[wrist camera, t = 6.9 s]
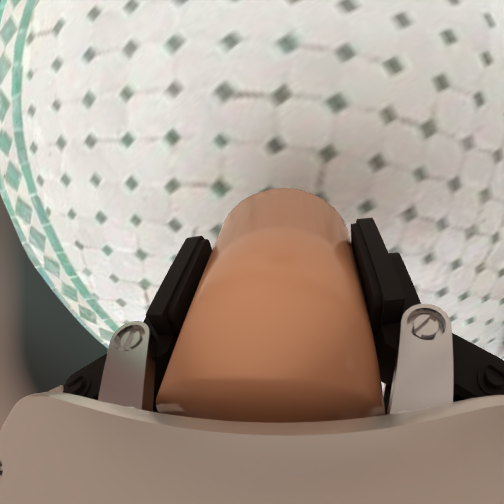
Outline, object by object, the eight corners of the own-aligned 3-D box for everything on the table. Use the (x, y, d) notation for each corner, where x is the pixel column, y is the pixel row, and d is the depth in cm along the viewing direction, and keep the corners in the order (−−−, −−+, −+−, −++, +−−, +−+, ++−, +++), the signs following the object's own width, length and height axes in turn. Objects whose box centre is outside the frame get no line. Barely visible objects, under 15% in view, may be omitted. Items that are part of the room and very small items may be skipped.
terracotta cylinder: (346, 181, 9) (410, 362, 4) (349, 292, 12) (368, 453, 6) (204, 199, 10) (112, 365, 5) (236, 301, 13) (201, 452, 7)
